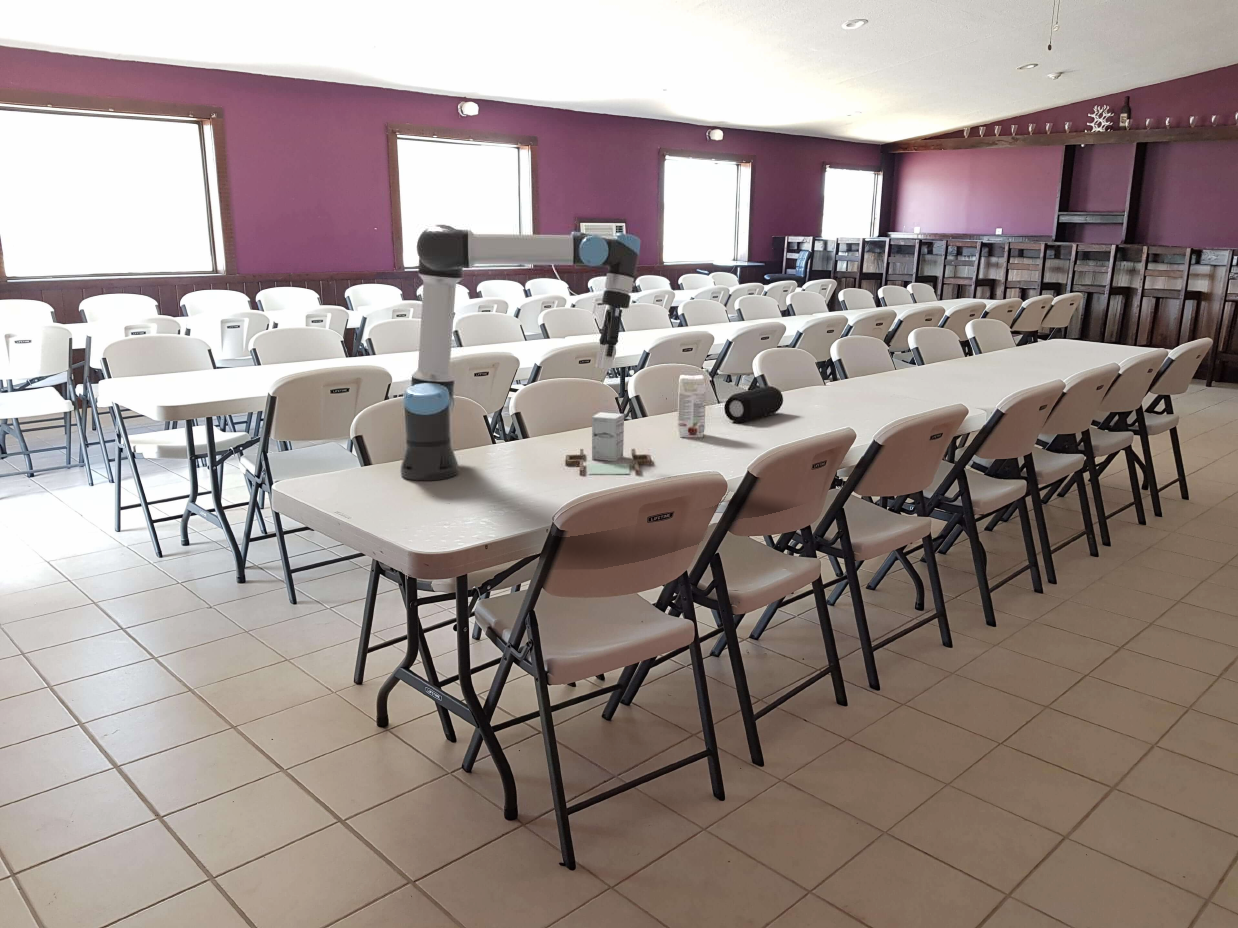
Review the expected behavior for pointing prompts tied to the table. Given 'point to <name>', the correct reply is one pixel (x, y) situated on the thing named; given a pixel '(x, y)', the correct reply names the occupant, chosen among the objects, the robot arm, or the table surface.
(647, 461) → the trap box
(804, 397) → the table surface
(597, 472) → the pad
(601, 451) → the supplement box
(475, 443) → the table surface
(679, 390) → the juice carton
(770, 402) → the portable speaker
